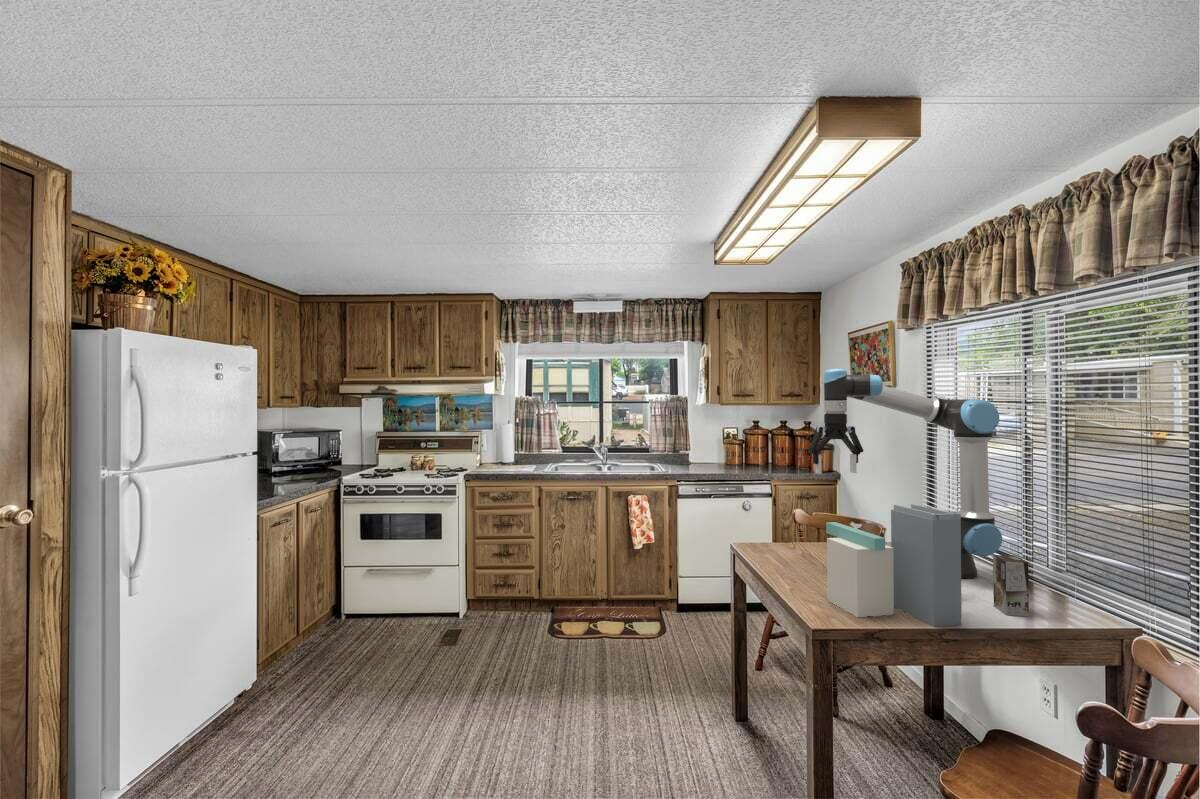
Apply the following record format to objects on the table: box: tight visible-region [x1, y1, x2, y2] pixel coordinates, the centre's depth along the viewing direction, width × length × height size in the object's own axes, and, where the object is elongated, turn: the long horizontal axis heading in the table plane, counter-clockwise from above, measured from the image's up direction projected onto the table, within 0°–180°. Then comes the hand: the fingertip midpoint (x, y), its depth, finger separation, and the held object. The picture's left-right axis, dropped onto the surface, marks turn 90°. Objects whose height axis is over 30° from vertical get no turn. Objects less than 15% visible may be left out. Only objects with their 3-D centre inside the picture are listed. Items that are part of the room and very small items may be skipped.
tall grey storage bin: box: [890, 503, 963, 628], centre depth 182 cm, size 9×18×32 cm, turn 11°
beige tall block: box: [826, 537, 895, 618], centre depth 189 cm, size 12×16×20 cm
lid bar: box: [825, 521, 886, 551], centre depth 191 cm, size 4×26×4 cm, turn 11°
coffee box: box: [992, 554, 1030, 617], centre depth 185 cm, size 9×6×16 cm
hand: (835, 473), depth 215 cm, fingers open, 13 cm apart
